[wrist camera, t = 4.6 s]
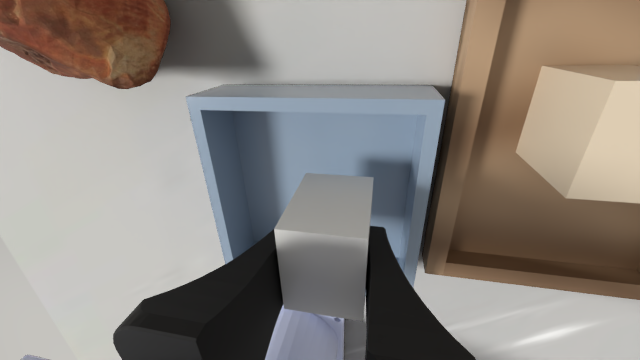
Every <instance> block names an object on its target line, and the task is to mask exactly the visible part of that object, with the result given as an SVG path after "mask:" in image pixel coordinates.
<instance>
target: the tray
mask: <svg viewBox="0 0 640 360" xmlns="http://www.w3.org/2000/svg"><path fill="white" fill-rule="evenodd" d="M559 65H635V66H640V0H467V1H466V7H465V13H464V18H463V24H462V30H461V35H460V41H459V47H458V52H457V58H456V64H455V70H454V75H453V81H452V87H451V92H450V98H449V104H448V109H447V115H446V121H445V126H444V132H443V138H442V143H441V149H440V155H439V161H438V166H437V172H436V178H435V183H434V189H433V195H432V200H431V206H430V212H429V217H428V223H427V229H426V234H425V240H424V246H423V251H422V257H423V263H424V269H425V273H428V274H436V275H444V276H452V277H460V278H468V279H476V280H484V281H492V282H500V283H508V284H516V285H524V286H532V287H540V288H548V289H556V290H564V291H572V292H580V293H588V294H596V295H604V296H612V297H620V298H629V299H637V300H640V203H627V202H612V201H598V200H584V199H569V198H565V197H564V196H563V195H562V194H561V193H559V192H558V191H557V190H556V189H555V188H554V187H553V186H552V185H551V184H550V183H549V182H547V181H546V180H545V179H544V178H543V177H542V176H541V175H540V174H539V173H538V172H537V171H535V170H534V169H533V168H532V167H531V166H530V165H529V164H528V163H527V162H526V161H525V160H523V159H522V158H521V157H520V156H519V155H518V154H517V153H516V149H517V146H518V143H519V139H520V136H521V133H522V130H523V126H524V123H525V120H526V117H527V113H528V110H529V107H530V103H531V100H532V97H533V94H534V90H535V87H536V84H537V81H538V77H539V74H540V71H541V68H542V66H559Z"/></svg>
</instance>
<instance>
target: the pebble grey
mask: <svg viewBox="0 0 640 360" xmlns="http://www.w3.org/2000/svg"><path fill="white" fill-rule="evenodd" d="M373 180H374V177H361V176H346V175H330V174H315V173H306V174H305V176H304V178H303V179H302V181H301V183H300V185H299V186H298V188H297V190H296V192H295V193H294V195H293V197H292V199H291V200H290V202H289V204H288V206H287V207H286V209H285V211H284V213H283V214H282V216H281V218H280V220H279V221H278V223H277V225H276V227H275V228H274V233H275V241H276V249H277V257H278V265H279V273H280V281H281V289H282V297H283V305H284V309H289V310H295V311H301V312H307V313H313V314H319V315H325V316H332V317H338V318H344V319H350V320H356V321H362V322H363V318H364V306H365V293H366V277H367V262H368V246H369V233H370V226H371V210H372V195H373Z"/></svg>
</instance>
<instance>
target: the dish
mask: <svg viewBox="0 0 640 360" xmlns="http://www.w3.org/2000/svg"><path fill="white" fill-rule="evenodd" d="M186 100H187V105H188V109H189V113H190V117H191V121H192V126H193V130H194V134H195V138H196V143H197V147H198V151H199V155H200V159H201V164H202V168H203V172H204V176H205V180H206V185H207V189H208V193H209V197H210V201H211V206H212V210H213V214H214V218H215V222H216V227H217V231H218V235H219V239H220V243H221V248H222V252H223V256H224V260H225V264H227V263H228V262H230V261H232V260H233V259H235V258H236V257H238V256H239V255H241V254H242V253H244V252H245V251H247V250H248V249H249V248H251V247H252V246H253V245H255V244H256V243H257V242H259V241H260V240H261V239H262V238H263V237H265V236H266V235H267V234H268V233H270V232H271V231H272V230H273V229H274V228H275V227H276V225H277V223H278V221H279V220H280V218H281V216H282V214H283V213H284V211H285V209H286V207H287V206H288V204H289V202H290V200H291V199H292V197H293V195H294V193H295V192H296V190H297V188H298V186H299V185H300V183H301V181H302V179H303V178H304V176H305V174H306V173H315V174H330V175H346V176H361V177H374V180H373V195H372V210H371V226H378V227H384V228H385V229H386V234H387V237H388V240H389V243H390V246H391V248H392V251H393V253H394V255H395V257H396V259H397V261H398V263H399V265H400V267H401V269H402V271H403V273H404V274H405V276H406V278H407V279H408V281H409V283H410V284H411V286H412V287H413V286H414V280H415V275H416V269H417V263H418V257H419V251H420V245H421V239H422V233H423V227H424V221H425V216H426V210H427V204H428V198H429V192H430V186H431V180H432V174H433V168H434V162H435V157H436V151H437V145H438V139H439V133H440V127H441V121H442V115H443V109H444V103H445V99H444V98H443V97H442V96H441V95H440V93H439V92H438V91H437V90H436V89H435V88H434V87H433V86H432V85H221V86H218V87H214V88H211V89H208V90H205V91H202V92H199V93H195V94H192V95H189V96H186ZM365 296H366V293H365Z"/></svg>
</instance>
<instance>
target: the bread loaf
mask: <svg viewBox="0 0 640 360" xmlns="http://www.w3.org/2000/svg"><path fill="white" fill-rule="evenodd" d="M170 25H171V22H170V17H169V12H168V9H167V6H166V4H165V2H164V0H0V46H1V47H2V48H4V49H6V50H8V51H11V52H13V53H15V54H16V55H18V56H19V57H21V58H23V59H25V60H27V61H29V62H32V63H34V64H36V65H38V66H40V67H42V68H43V69H45V70H47V71H49V72H51V73H53V74H57V75H62V76H67V77H75V78H80V79H88V78H94V79H96V80H98V81H100V82H102V83H105V84H107V85H110V86H113V87H116V88H118V89H129V88H133V87H137V86H141V85H143V84H145V83H147V82H150V81H151V80H152V79H153V77H154V76H155V75H156V73H157V71H158V68H159V65H160V62H161V59H162V57H163V53H164V51H165V48H166V45H167V40H168V36H169V32H170Z"/></svg>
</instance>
